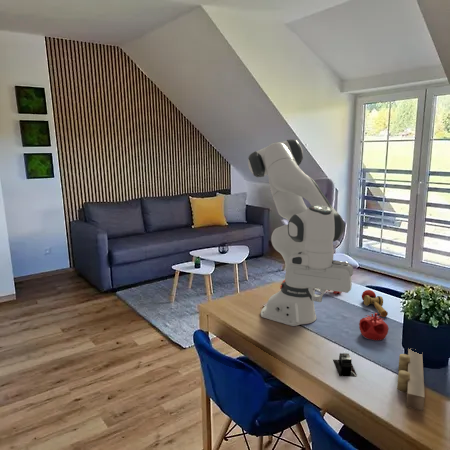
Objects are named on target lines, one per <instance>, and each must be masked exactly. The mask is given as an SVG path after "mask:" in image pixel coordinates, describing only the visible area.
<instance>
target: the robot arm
mask: <svg viewBox="0 0 450 450" xmlns="http://www.w3.org/2000/svg"><path fill="white" fill-rule="evenodd" d="M247 158H248V159H247V165H248V169H249V171H250V173H251V174H252V175H253V176H254V177H256V178H263V177H265V176H267V177H268V183H269V184H268V185H269V189H270V192H271V196H272V199H273V202H274V205H275V208H276V211H277V214H278V216H280V217H282V219H285V220H287V221H288V222H287V224H283V225H281V226H279V227H276V228H275V229H273V230H272V231H273V232H272V233H271V237H270V238H271V239H270V241H271V245H272V247H273V249H274V250H275V251H276V252H278V253H279V254H280V255H281V256H282V258H283V260H284V264H285V274H284V279H283V280H282V283H281V284H280V285H279V288H280V289H279V291H278V292H276V293H274V294H272V295H271V296H270V297H269V298H268V300H267V302H266V305H264V307H263V308H262V309H261V311H260V316H261V317H262V318H264V319H267V320H270V321H274V322H277V323H280V324H285V325H287V326H290V327H297V326H299V325H308V324H311V323H314V322H315V321H316V320H317V315H316V308H315V302H318V303H322V302H323V296H324V294H325V293H326V292H327V291H328V290H330V292H331V291H332V292H333V291H338V292H342V293H345V294H347V293H349V292H350V291H351V290H352V276H353V274H354V266H353V265H352V264H351V263H350V262H348V261H341V260H335V259H334V254H335V253H334V252H335V250H334V249H335V248H334V245H333V243H334V242H337V240H339V239H340V238H341V236H342V235H343V233H344V231H345V222H344V219H343V217H342V216H341V215H340V214H339V212H337V210H336V209H335V208H334V207H333V206H332V205H331V203H330V202H329V199H327V197H326V195H325V194H324V192H323V191H322V189H321V188H320V187H319V185H318V183H317V182H316V181H315V180H314V179H313V178H312V177H311V176H309V175H308V174H306V173H305V172H304V171H303V169H301V167H300V165H301V164H302V162H303V159H304V149H303V147H302V144H300V143H299V141H298V140H297V139H295V138H292V139H291V138H290V139H286V140H284V141H279V142H273V143H270V144H269V145H268V146H265V147H263V148H261V149H259V150H257V151H256V150H255V151H253V152H252V153H250V154H249V155H248V157H247ZM304 199H305V200H306V201H307V202H308V203H309V204H310V206H309V207H307V205H306V203H305V201H304ZM317 289H318V290H320V291H319V292H320V294H316V290H317Z"/></svg>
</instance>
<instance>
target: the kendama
mask: <svg viewBox="0 0 450 450" xmlns="http://www.w3.org/2000/svg"><path fill="white" fill-rule="evenodd" d="M361 299H362V301H363V304H364V306H367V307H368V306H369V305H374V307H375V309H376V310H377V313H378V314H379V315H381V316H380V318H386V317H387V316H388V314H389V313H388V311H387V310H386V309H385V308H383V305H384V298H383V296H382V295H377V294H376V293H375V292H374V291H373V290H371V289H366V290H364V291H363V292H362V293H361Z"/></svg>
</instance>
